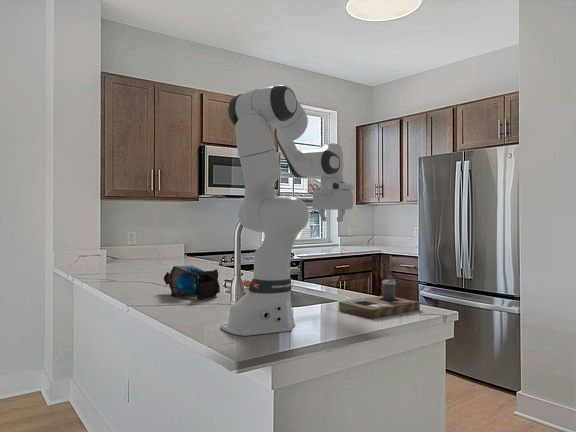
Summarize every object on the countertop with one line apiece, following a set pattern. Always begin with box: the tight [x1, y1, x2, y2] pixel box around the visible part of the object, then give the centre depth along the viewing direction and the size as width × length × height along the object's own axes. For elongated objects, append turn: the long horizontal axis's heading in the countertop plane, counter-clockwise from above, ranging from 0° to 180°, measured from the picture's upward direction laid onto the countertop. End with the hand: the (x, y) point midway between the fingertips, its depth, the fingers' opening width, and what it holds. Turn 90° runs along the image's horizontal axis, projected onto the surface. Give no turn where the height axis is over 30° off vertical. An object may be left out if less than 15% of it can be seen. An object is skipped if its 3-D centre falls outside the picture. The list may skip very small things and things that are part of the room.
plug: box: [382, 279, 396, 302], centre depth 164 cm, size 5×5×10 cm
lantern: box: [163, 265, 221, 301], centre depth 185 cm, size 16×16×25 cm
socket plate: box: [338, 295, 421, 320], centre depth 160 cm, size 24×16×3 cm, turn 126°
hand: (331, 221), depth 175 cm, fingers open, 8 cm apart
